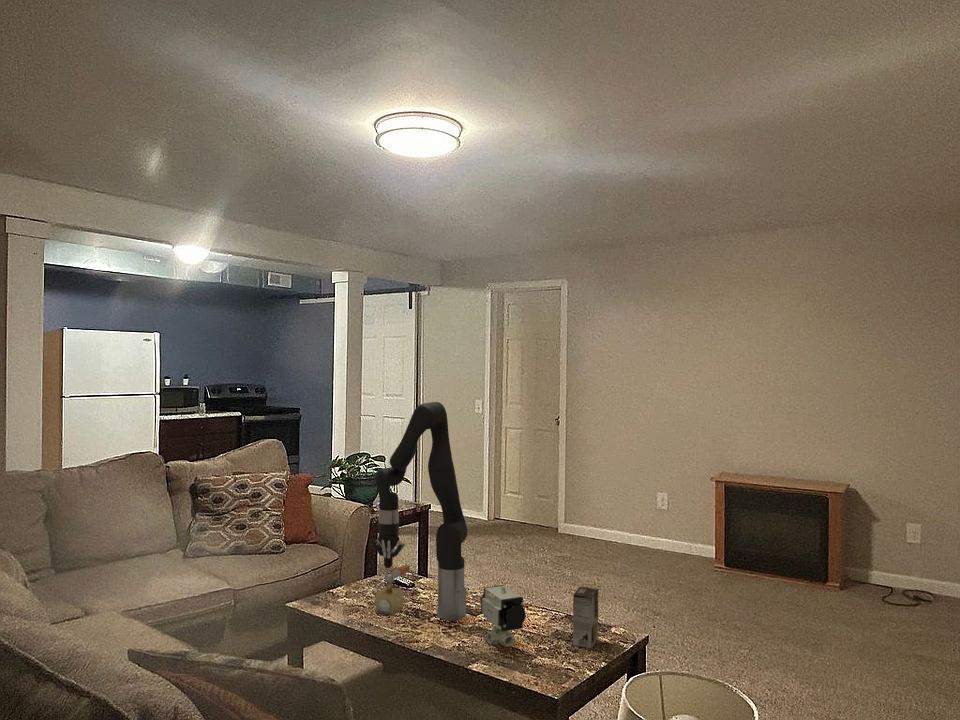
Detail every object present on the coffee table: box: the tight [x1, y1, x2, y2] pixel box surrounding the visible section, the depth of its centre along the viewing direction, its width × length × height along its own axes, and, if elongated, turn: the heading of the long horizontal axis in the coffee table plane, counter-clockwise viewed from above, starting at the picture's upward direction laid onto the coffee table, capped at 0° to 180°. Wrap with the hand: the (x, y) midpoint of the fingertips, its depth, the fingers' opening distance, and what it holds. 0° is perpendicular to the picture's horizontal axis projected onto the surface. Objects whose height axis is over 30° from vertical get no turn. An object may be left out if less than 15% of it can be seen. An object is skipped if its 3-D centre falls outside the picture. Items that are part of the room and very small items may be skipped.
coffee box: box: [572, 586, 599, 649], centre depth 227 cm, size 9×6×16 cm
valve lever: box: [384, 564, 411, 583], centre depth 258 cm, size 15×3×2 cm, turn 158°
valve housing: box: [374, 582, 404, 616], centre depth 253 cm, size 7×9×10 cm
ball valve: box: [480, 584, 526, 648], centre depth 225 cm, size 18×8×18 cm, turn 25°
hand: (388, 567), depth 264 cm, fingers closed
